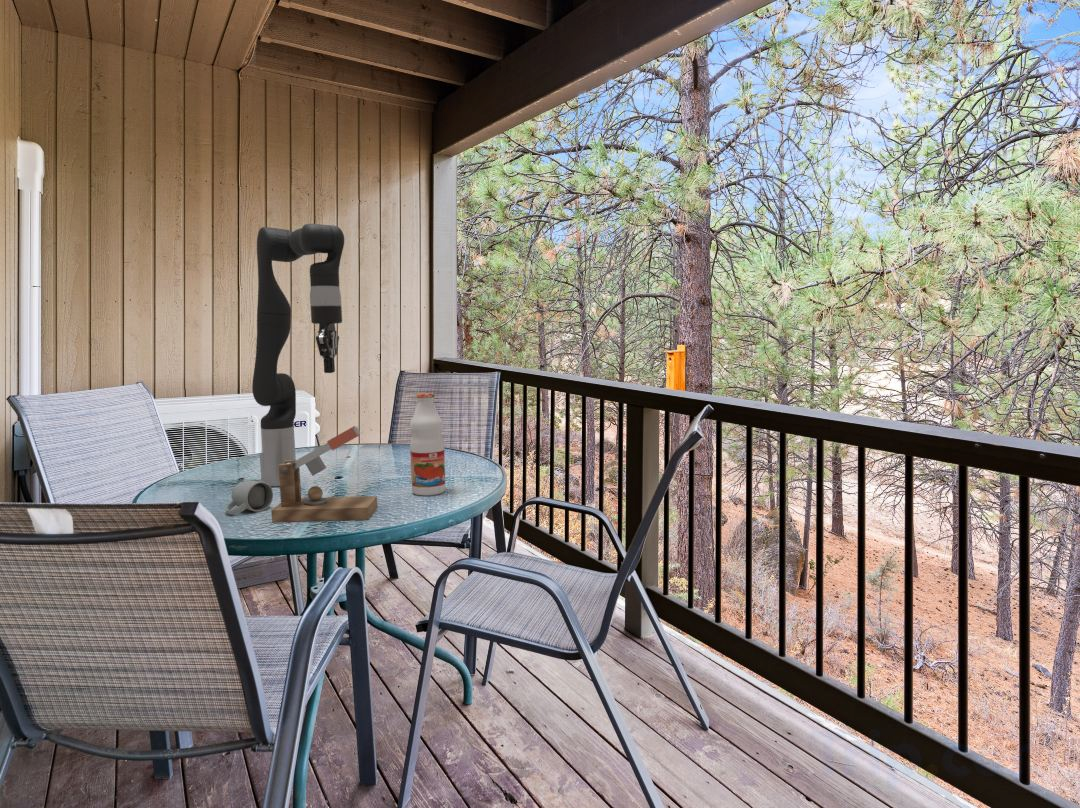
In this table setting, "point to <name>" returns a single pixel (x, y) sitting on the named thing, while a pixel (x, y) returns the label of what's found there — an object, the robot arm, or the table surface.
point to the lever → (313, 458)
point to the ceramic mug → (250, 497)
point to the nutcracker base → (316, 502)
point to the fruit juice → (427, 448)
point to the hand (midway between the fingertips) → (329, 372)
